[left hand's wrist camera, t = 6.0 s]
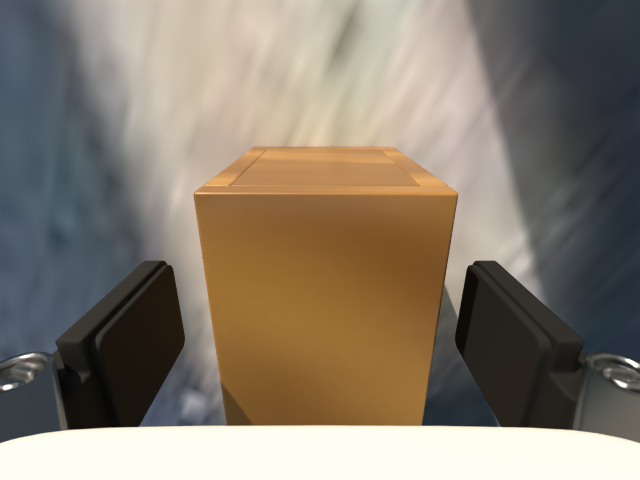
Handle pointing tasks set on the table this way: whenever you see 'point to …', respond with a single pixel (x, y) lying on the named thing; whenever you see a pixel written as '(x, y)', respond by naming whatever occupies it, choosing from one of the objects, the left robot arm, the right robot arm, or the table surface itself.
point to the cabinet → (325, 284)
